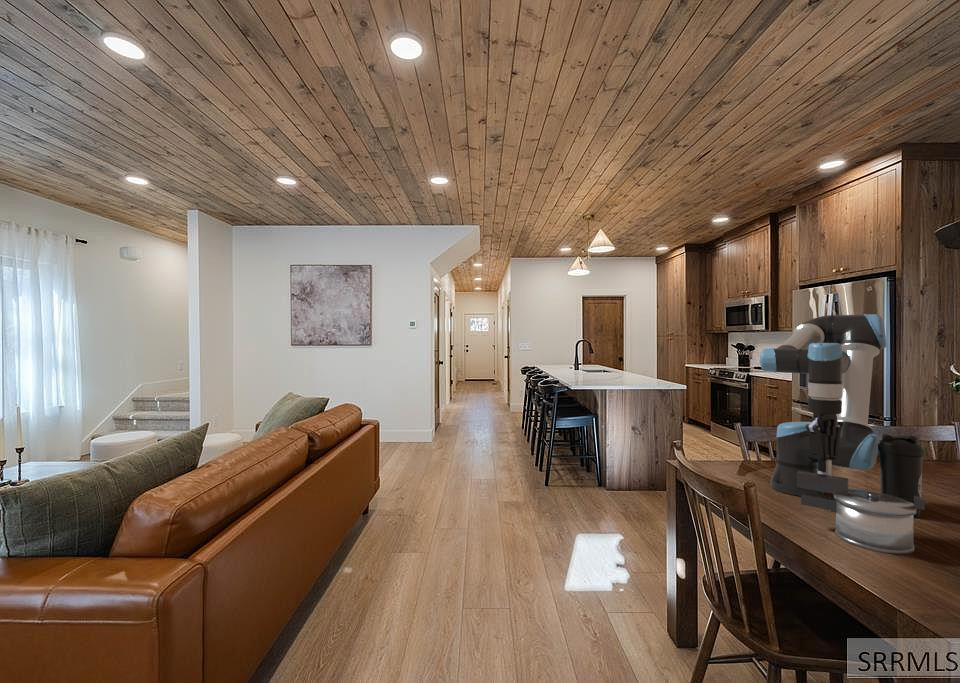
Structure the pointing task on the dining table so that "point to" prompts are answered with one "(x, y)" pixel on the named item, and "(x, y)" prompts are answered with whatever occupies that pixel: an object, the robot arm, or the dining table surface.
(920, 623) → the dining table surface
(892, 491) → the water bottle
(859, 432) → the robot arm
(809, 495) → the pot
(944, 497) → the dining table surface
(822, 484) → the lid
